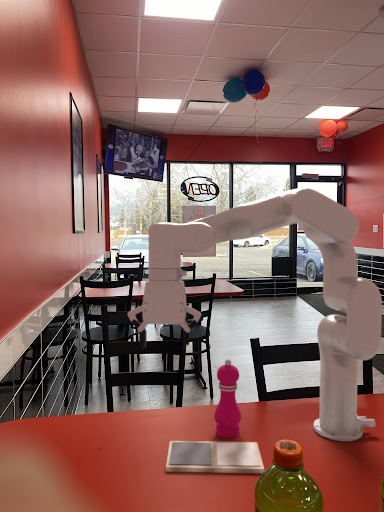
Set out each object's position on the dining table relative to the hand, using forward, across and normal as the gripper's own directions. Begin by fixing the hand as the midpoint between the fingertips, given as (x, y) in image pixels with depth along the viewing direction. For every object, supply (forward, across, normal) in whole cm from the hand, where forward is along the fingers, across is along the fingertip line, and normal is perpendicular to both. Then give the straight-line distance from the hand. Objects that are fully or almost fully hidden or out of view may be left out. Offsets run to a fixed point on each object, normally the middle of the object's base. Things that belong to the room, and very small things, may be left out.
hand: (164, 347), depth 97 cm
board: (+26, -12, 0) cm, 29 cm away
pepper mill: (+27, -16, -13) cm, 34 cm away
